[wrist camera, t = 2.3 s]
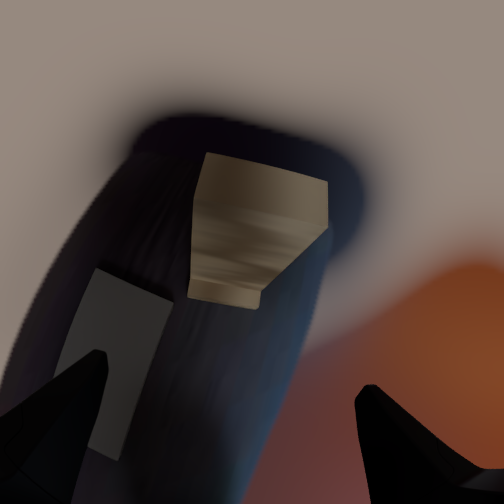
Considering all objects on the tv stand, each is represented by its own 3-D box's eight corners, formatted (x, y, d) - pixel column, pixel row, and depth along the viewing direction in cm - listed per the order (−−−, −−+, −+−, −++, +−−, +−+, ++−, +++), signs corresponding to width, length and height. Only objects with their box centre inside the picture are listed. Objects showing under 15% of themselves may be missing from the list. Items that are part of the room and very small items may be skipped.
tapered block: (262, 253, 25) (326, 161, 13) (255, 309, 23) (327, 256, 11) (198, 240, 24) (212, 132, 12) (187, 297, 22) (186, 226, 10)
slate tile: (174, 305, 22) (173, 302, 20) (120, 456, 16) (117, 461, 15) (100, 271, 21) (96, 267, 20) (48, 416, 15) (42, 419, 14)
